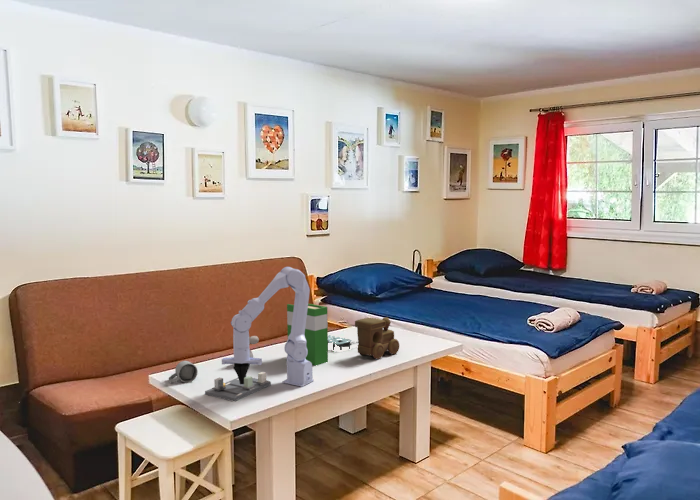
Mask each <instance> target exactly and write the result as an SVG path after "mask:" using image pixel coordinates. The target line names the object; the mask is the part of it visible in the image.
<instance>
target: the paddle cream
mask: <svg viewBox="0 0 700 500" xmlns="http://www.w3.org/2000/svg"><path fill="white" fill-rule="evenodd" d="M257 379H258V381H256V383H257V384H262V385H264V384H266V383H268V382H269V380H267V372H265V371H261V372H259V373H257Z"/></svg>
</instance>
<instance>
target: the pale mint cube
mask: <svg viewBox="0 0 700 500" xmlns="http://www.w3.org/2000/svg"><path fill="white" fill-rule="evenodd" d="M252 378H253V376H252V375H251V376H250V375H248V376H246V377H245V378H244V386H242V388H245V389H251V388H254V387H255V385H253V379H252Z"/></svg>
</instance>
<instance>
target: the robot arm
mask: <svg viewBox="0 0 700 500" xmlns="http://www.w3.org/2000/svg"><path fill="white" fill-rule="evenodd" d="M289 287H290V288H291V289H292V290H293V291H294V292H295V294H294V303H293V305H294V310H293V318H292V327H291V333H290V335H289V336H288V335H287V341H286V343H284V352H285V353H286V354H287V356H286V379H284V380H282V384H286V385H292V386H298V387H304V386H306V385H309V384H310V383H312V382H314V379H313V365H312V363H311V362H310V361H307V360H306V356H307V354H308V350H307V347H306V343H307V342H306V338H305V335H304V334H305V326H306V318H307V309H308V304H309V299H310V292H311V291H310V290H311V289H310V286H309V283H308V281H307V279H306V275H305V274H304V273H303V272H302V271H301V270H300V269H298V268H293V267H291V266H284V267H283V268H282V269H281V270H280V271H279V272H278V273H276V275H275V276H274V278H273V279H272V280H271V282H269V283H268V285H267V286H266V288H265V289H264V290H263V291H262V292H261V293H260V295H259V296H258V297H253V298H251V299H248V301H247V304H246V305H245V306H244V307H243V308H242V310H241V309H239V310H238V314H235V315H233V317H232V318H231V321H230V325H231V327H232V328H233V334H232V338H233V339H232V343H233V356H232V357H231V356H230V357H222V358H221V365H233V371H234V372H235V374H236V375H237V378H239V382H240V384H244V378H245V377H247V375H248V374H247V373H248V371H249V368H250V366H251V365H258V366H261V365H262V364H263V358H262V357H261V358H259V357H253V358H252V357H250V351H249V350H250V344H249V337H250V333H249V331H250V328H251V327H252V322H254V320H256V318H257V317H258V316H259V315H260V314H261V313H262V312H263V311H264V309H265V304H266V303H267V302H268V301H269V300H270V299H271V298H272V297H273V296H274V295H275V294H276V293H277V292H278V291H279V290H281V289H285V288H289Z"/></svg>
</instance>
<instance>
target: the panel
mask: <svg viewBox="0 0 700 500" xmlns="http://www.w3.org/2000/svg"><path fill="white" fill-rule="evenodd" d="M252 379H253V385H255V387H254V388H251V389H245V388H242V386H244V384H240V382H239V378H238V377H237V378H234V379H231V380H229V381H226V382H223V386H224V387H226V389H223V390H221V391H217V390H213V389H212V388H209V389H207V390H205V391H204V395H206V396H210V397H215V398H219V399H223V400H228V401H231V402H236V401H239V400H241V399H243V398H245V397H247V396H250V395H251V394H254V393H256V392H258V391H260V390H262V389H264V388H266V387H269V386H271V385H272V384H271V383H272V381H269V380H268V381H269V382H268V383H266V384H264V385H262V384H257V383H256V381H258V378H255V377H252Z"/></svg>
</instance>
